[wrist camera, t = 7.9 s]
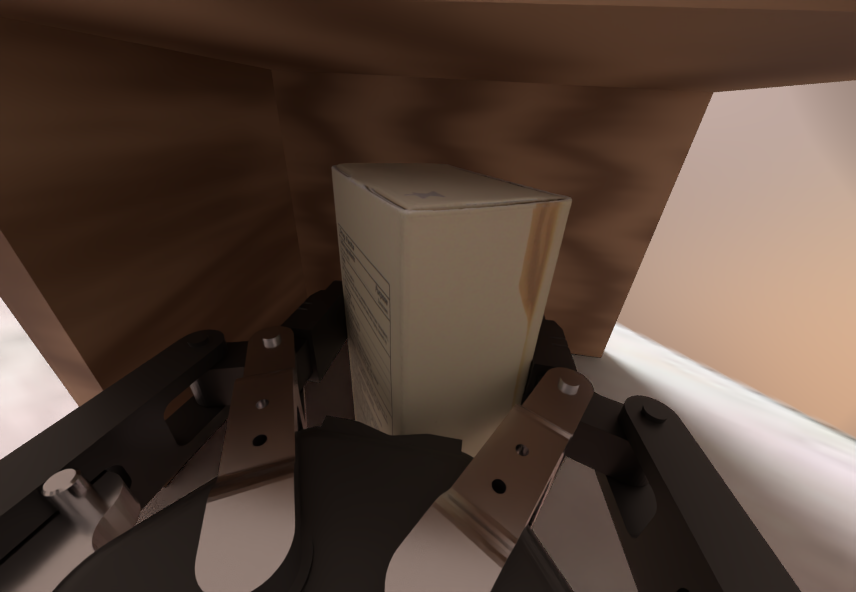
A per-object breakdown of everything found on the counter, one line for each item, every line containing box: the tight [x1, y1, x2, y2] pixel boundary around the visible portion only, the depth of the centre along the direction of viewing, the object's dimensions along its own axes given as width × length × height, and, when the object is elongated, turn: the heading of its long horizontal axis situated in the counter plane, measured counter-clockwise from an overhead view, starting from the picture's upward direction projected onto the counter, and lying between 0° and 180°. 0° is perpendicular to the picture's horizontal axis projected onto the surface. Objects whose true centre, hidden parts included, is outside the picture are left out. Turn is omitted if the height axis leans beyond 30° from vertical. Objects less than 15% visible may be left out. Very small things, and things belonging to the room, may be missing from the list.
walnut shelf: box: [0, 0, 856, 487], centre depth 14 cm, size 22×14×16 cm, turn 81°
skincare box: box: [331, 163, 572, 457], centre depth 12 cm, size 6×4×12 cm
